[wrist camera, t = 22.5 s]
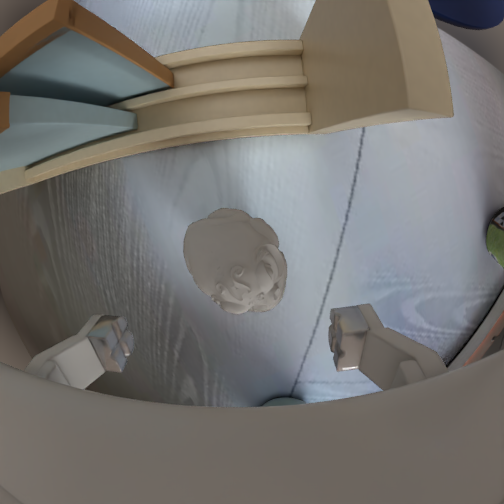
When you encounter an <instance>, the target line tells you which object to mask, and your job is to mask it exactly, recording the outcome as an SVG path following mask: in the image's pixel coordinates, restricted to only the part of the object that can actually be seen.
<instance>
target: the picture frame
mask: <svg viewBox="0 0 504 504" xmlns="http://www.w3.org/2000/svg"><path fill="white" fill-rule="evenodd" d="M503 349H504V289H503V290H502V292H501V294H500V296H499V297H498V299H497V300H496V302H495V304H494V305H493V307H492V308H491V310H490V312H489V313H488V315H487V316H486V318H485V319H484V321H483V322H482V324H481V325H480V327H479V328H478V330H477V331H476V332H475V334H474V335H473V337H472V338H471V339H470V341H469V342H468V343H467V345H466V346H465V347H464V348H463V350H462V351H461V352H460V353H459V354H458V355H457V356H456V358H455V359H454V360H453V361H452V362H451V363H450V364H449V365H448V367H447V369H448V371H449V372H450V371H453V370H456V369H458V368H461V367H463V366H466V365H469V364H471V363H474V362H476V361H478V360H481V359H483V358H485V357H488V356H490V355H492V354H494V353H496V352H498V351H500V350H503Z"/></svg>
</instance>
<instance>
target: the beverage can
mask: <svg viewBox="0 0 504 504" xmlns="http://www.w3.org/2000/svg"><path fill="white" fill-rule="evenodd" d="M486 245H487V250H488V252H489V254H490V255H491V256H492V257H493V258H494V259H495V260H496V261H497V262H498V263H499V264H500V265H501V266H502V267H503V268H504V207H503V208H501V209H500V210H499V211H498V212H497V213H496V214H495V216H494V217H493V218H492V220H491V222H490V225H489V228H488V231H487V237H486Z"/></svg>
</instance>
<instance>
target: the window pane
mask: <svg viewBox="0 0 504 504" xmlns="http://www.w3.org/2000/svg"><path fill="white" fill-rule="evenodd" d="M172 88H174V76H173V73H172V72H171V71H170V70H169V69H168V68H166V67H165V66H164V65H163V64H161V63H160V62H159V61H158V60H156V59H155V58H154V57H153V56H151V55H150V54H149V53H147V52H146V51H145V50H144V49H142V48H141V47H140V46H138V45H137V44H136V43H134V42H133V41H132V40H130V39H129V38H128V37H126V36H125V35H124V34H122V33H121V32H119V31H118V30H117V29H115V28H114V27H112V26H111V25H109V24H108V23H106V22H105V21H104V20H102V19H101V18H99V17H98V16H96V15H95V14H93V13H91V12H90V11H88V10H87V9H85V8H84V7H82V6H80V5H79V4H78V3H76V2H75V1H73V0H47V1H46V2H44V3H43V4H42V5H40V6H38V7H37V8H36V9H34V10H33V11H32V12H30V13H29V14H27V15H26V16H25V17H23V18H22V19H21V20H20V21H19V22H17V23H16V24H15V25H14V26H12V27H11V28H10V29H9V30H7V31H6V32H5V33H4V34H3V35H2V36H1V37H0V92H10V95H20V96H32V97H43V98H52V99H60V100H67V101H74V102H80V103H86V104H92V105H98V106H103V107H106V106H109V105H112V104H115V103H118V102H121V101H125V100H128V99H132V98H135V97H139V96H142V95H146V94H150V93H154V92H158V91H163V90H167V89H172Z"/></svg>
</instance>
